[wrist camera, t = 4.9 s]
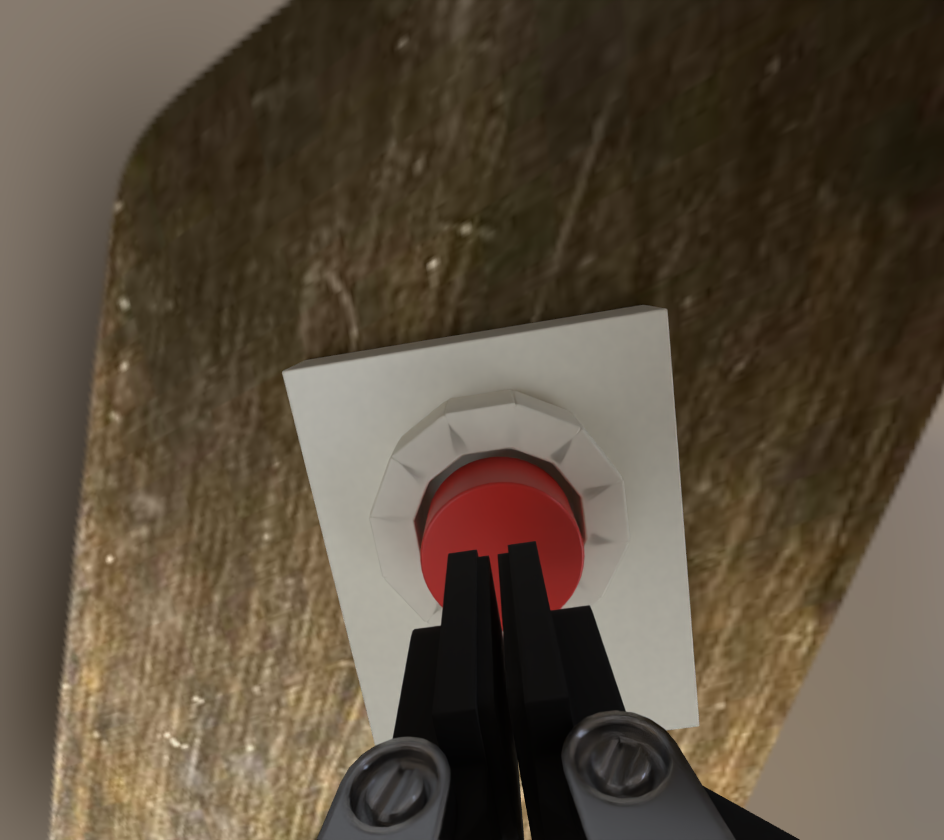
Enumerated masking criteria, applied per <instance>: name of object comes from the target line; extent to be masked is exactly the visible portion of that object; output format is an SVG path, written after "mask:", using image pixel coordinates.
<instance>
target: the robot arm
mask: <svg viewBox="0 0 944 840" xmlns="http://www.w3.org/2000/svg"><path fill="white" fill-rule="evenodd" d="M498 568H499V583H500V597H501V611H502V625H503V633H502V627H501V621H500V615H499V609H498V604H497V598H496V592H495V586H494V581H493V575H492V569H491V563H490V558H489V555H488V556H481V557H479V556H478V552H477V549H476V550H469V551H462V552H455V553H449V554H448V559H447V569H446V579H445V589H444V599H443V608H442V618H441V625H440V626H433V627H426V628H418V629H414V630H413V631H412V634H411V638H410V644H409V650H408V655H407V661H406V666H405V672H404V677H403V683H402V689H401V694H400V700H399V705H398V711H397V717H396V722H395V728H394V733H393V739H391V740H388V741H385V742H383V743H380V744H378V745H376V746H374V747H373V748H371V749H370V750H368V751H367V752H365V753H364V754H362V755H361V756H360V757H359V758H358V759H357V760H356V761H355V762H354V763H353V764H352V765H351V767H350V768H349V769H348V771H347V773H346V774H345V776H344V778H343V780H342V781H341V783H340V785H339V788H338V790H337V792H336V795H335V797H334V800H333V802H332V804H331V807H330V809H329V812H328V814H327V816H326V819H325V821H324V823H323V826H322V828H321V831H320V833H319V835H318V838H317V840H524V831H523V819H522V807H521V794H520V782H519V770H520V776H521V781H522V787H523V793H524V798H525V804H526V809H527V815H528V821H529V826H530V832H531V838H532V840H799V839H798V838H796V837H794V836H792V835H790V834H789V833H787V832H785V831H783V830H781V829H780V828H778V827H776V826H774V825H772V824H771V823H769V822H767V821H765V820H763V819H762V818H760V817H758V816H756V815H754V814H753V813H750V812H749V811H747V810H745V809H744V808H742V807H740V806H738V805H736V804H735V803H733V802H731V801H729V800H727V799H726V798H724V797H722V796H720V795H718V794H717V793H715V792H713V791H711V790H709V789H708V788H706V787H704V786H702V784H701V782H700V781H699V779H698V778H697V776H696V774H695V773H694V771H693V769H692V768H691V766H690V765H689V763H688V761H687V760H686V758H685V756H684V755H683V753H682V751H681V750H680V748H679V747H678V745H677V743H676V742H675V740H674V739H673V738H672V737H671V736H670V735H669V733H668V732H667V731H666V730H665V729H664V728H663V727H662V726H660V725H659V724H657V723H656V722H654V721H653V720H651V719H650V718H647V717H644V716H642V715H639V714H636V713H633V712H626V710H625V707H624V704H623V701H622V698H621V695H620V692H619V689H618V686H617V683H616V680H615V677H614V674H613V671H612V668H611V665H610V662H609V659H608V656H607V653H606V650H605V647H604V644H603V641H602V638H601V635H600V632H599V629H598V626H597V623H596V620H595V617H594V614H593V611H592V609H591V606H590V605H586V606H579V607H572V608H564V609H557V610H550V605H549V601H548V596H547V591H546V587H545V582H544V577H543V573H542V568H541V563H540V558H539V554H538V549H537V544H536V541H531V542H524V543H517V544H510V545H508V553H502V554H498ZM518 764H519V770H518Z"/></svg>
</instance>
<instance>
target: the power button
mask: <svg viewBox="0 0 944 840" xmlns="http://www.w3.org/2000/svg"><path fill="white" fill-rule="evenodd" d="M531 541H536V544H537V549H538V554H539V558H540V563H541V568H542V573H543V577H544V582H545V587H546V591H547V596H548V601H549V605H550V610H557V609H561V608H562V607H563V606H564V605H565V604H566V603H567V601H568V600H569V599H570V597H571V596H572V595H573V593H574V591H575V590H576V588H577V586H578V584H579V581H580V579H581V576H582V572H583V568H584V558H585V554H584V544H583V539H582V536H581V533H580V530H579V527H578V525H577V522H576V520H575V517H574V515H573V512H572V510H571V507H570V505H569V502H568V499H567V497H566V495H565V493H564V491H563V490H562V488H561V487H560V486H559V484H558V483H557V482H556V481H555V480H554V478H553V477H552V476H551V475H549V474H548V473H547V472H546V471H544V470H543V469H541V468H540V467H538V466H536V465H534V464H532V463H530V462H528V461H525V460H521V459H518V458H512V457H488V458H483V459H479V460H476V461H473V462H470V463H468V464H466V465H464V466H462V467H460V468H459V469H457V470H456V471H454V472H453V473H452V474H451V475H450V476H448V477H447V478H446V479H445V480H444V482H443V483H442V484H441V485H440V486H439V488H438V490H437V491H436V493H435V495H434V497H433V499H432V501H431V504H430V507H429V511H428V515H427V520H426V525H425V529H424V534H423V538H422V544H421V550H420V562H421V570H422V574H423V577H424V580H425V583H426V585H427V587H428V589H429V591H430V592H431V594H432V596H433V597H434V598H435V600H436V601H437V602H438V603H439V605H440V606H441V607H442V608H443V599H444V589H445V579H446V569H447V559H448V554H449V553H455V552H462V551H469V550H476V549H477V552H478V556H479V557H481V556H488V555H489V558H490V563H491V569H492V575H493V581H494V586H495V592H496V598H497V604H498V609H499V615H500V621H501V627H502V631H503V625H502V611H501V597H500V583H499V568H498V554H502V553H508V545H510V544H517V543H524V542H531Z"/></svg>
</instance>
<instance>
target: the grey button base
mask: <svg viewBox="0 0 944 840" xmlns="http://www.w3.org/2000/svg"><path fill="white" fill-rule="evenodd" d="M282 374H283V378H284V382H285V386H286V390H287V394H288V398H289V402H290V406H291V410H292V414H293V418H294V422H295V426H296V430H297V434H298V438H299V442H300V446H301V450H302V454H303V458H304V462H305V466H306V470H307V474H308V478H309V482H310V486H311V490H312V494H313V498H314V502H315V506H316V510H317V514H318V518H319V522H320V526H321V530H322V534H323V538H324V542H325V546H326V550H327V554H328V558H329V562H330V566H331V570H332V574H333V578H334V582H335V586H336V590H337V594H338V598H339V602H340V606H341V610H342V614H343V618H344V622H345V626H346V630H347V634H348V638H349V642H350V646H351V651H352V655H353V659H354V663H355V667H356V671H357V675H358V679H359V683H360V687H361V691H362V695H363V699H364V703H365V707H366V711H367V715H368V719H369V723H370V727H371V731H372V735H373V739H374V743H375V746H376V745H378V744H380V743H383V742H385V741H388V740H391V739H393V733H394V728H395V722H396V717H397V711H398V705H399V700H400V694H401V689H402V683H403V677H404V672H405V666H406V661H407V655H408V650H409V644H410V638H411V634H412V631H413V630H414V629H418V628H426V627H433V626H440V625H441V618H442V607H441V606H440V605H439V603H438V602H437V601H436V600H435V598H434V597H433V596H432V594H431V592H430V591H429V589H428V587H427V585H426V583H425V580H424V577H423V574H422V570H421V562H420V550H421V544H422V538H423V534H424V529H425V525H426V520H427V515H428V511H429V507H430V504H431V501H432V499H433V497H434V495H435V493H436V491H437V490H438V488H439V486H440V485H441V484H442V483H443V482H444V480H445V479H446V478H447V477H448V476H450V475H451V474H452V473H453V472H454V471H456V470H457V469H459V468H460V467H462V466H464V465H466V464H468V463H470V462H473V461H476V460H479V459H483V458H488V457H512V458H518V459H521V460H525V461H528V462H530V463H532V464H534V465H536V466H538V467H540V468H541V469H543V470H544V471H546V472H547V473H548V474H549V475H551V476H552V477H553V478H554V480H555V481H556V482H557V483H558V484H559V486H560V487H561V488H562V490H563V491H564V493H565V495H566V497H567V499H568V502H569V505H570V507H571V510H572V512H573V515H574V517H575V520H576V522H577V525H578V527H579V530H580V533H581V536H582V539H583V544H584V554H585V558H584V568H583V572H582V576H581V579H580V581H579V584H578V586H577V588H576V590H575V591H574V593H573V595H572V596H571V597H570V599H569V600H568V601H567V603H566V604H565V605H564V606H563V607H562V608H561V609H564V608H572V607H579V606H586V605H590V606H591V609H592V611H593V614H594V617H595V620H596V623H597V626H598V629H599V632H600V635H601V638H602V641H603V644H604V647H605V650H606V653H607V656H608V659H609V662H610V665H611V668H612V671H613V674H614V677H615V680H616V683H617V686H618V689H619V692H620V695H621V698H622V701H623V704H624V707H625V710H626V712H633V713H636V714H639V715H642V716H644V717H647V718H650V719H651V720H653V721H654V722H656V723H657V724H659V725H660V726H662V727H663V728H664V729H665V730H672V729H681V728H689V727H697V726H699V715H698V702H697V689H696V676H695V663H694V650H693V637H692V624H691V611H690V598H689V585H688V572H687V559H686V545H685V532H684V519H683V506H682V493H681V480H680V467H679V454H678V441H677V428H676V415H675V402H674V389H673V376H672V363H671V350H670V337H669V324H668V311H667V309H665V308H660V307H654V306H648V305H639V306H633V307H627V308H621V309H615V310H608V311H602V312H596V313H590V314H584V315H578V316H572V317H566V318H560V319H554V320H547V321H541V322H535V323H529V324H523V325H517V326H511V327H505V328H499V329H492V330H486V331H480V332H474V333H468V334H462V335H456V336H450V337H444V338H438V339H431V340H425V341H419V342H413V343H407V344H401V345H395V346H389V347H383V348H376V349H370V350H364V351H358V352H352V353H346V354H340V355H334V356H328V357H322V358H315V359H309V360H305V361H303V362H301V363H299V364H297V365H294V366H292V367H290V368H288V369H286V370H284V371H283V372H282ZM502 633H503V631H502Z"/></svg>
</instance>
